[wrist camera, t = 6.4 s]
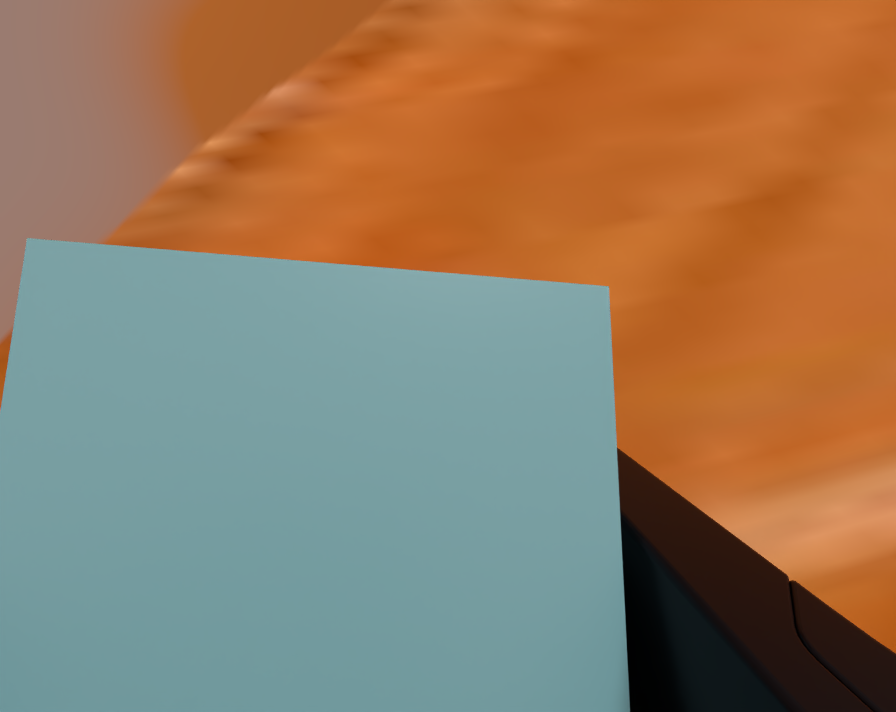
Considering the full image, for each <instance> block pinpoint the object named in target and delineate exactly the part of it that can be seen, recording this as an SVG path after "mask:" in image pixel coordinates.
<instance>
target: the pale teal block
mask: <svg viewBox="0 0 896 712" xmlns="http://www.w3.org/2000/svg"><path fill="white" fill-rule="evenodd" d="M0 712H630V701H629V681H628V661H627V641H626V621H625V601H624V581H623V561H622V541H621V521H620V501H619V481H618V461H617V441H616V421H615V401H614V381H613V361H612V341H611V321H610V301H609V286H597V285H585V284H573V283H561V282H549V281H537V280H525V279H513V278H501V277H489V276H477V275H465V274H453V273H441V272H429V271H417V270H405V269H393V268H381V267H368V266H356V265H344V264H332V263H320V262H308V261H296V260H284V259H272V258H260V257H248V256H236V255H224V254H212V253H200V252H188V251H176V250H164V249H152V248H140V247H128V246H116V245H103V244H90V243H78V242H67V241H55V240H43V239H30V238H27V242H26V249H25V255H24V262H23V269H22V275H21V281H20V288H19V295H18V301H17V307H16V314H15V320H14V327H13V333H12V340H11V346H10V353H9V359H8V366H7V372H6V379H5V385H4V392H3V398H2V405H1V411H0Z"/></svg>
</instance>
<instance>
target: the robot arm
mask: <svg viewBox="0 0 896 712" xmlns="http://www.w3.org/2000/svg"><path fill="white" fill-rule="evenodd" d="M617 461H618V481H619V501H620V521H621V541H622V561H623V581H624V601H625V621H626V641H627V661H628V681H629V701H630V712H896V654H895V653H894V652H893V651H891V650H890V649H888V648H887V647H885V646H884V645H882V644H881V643H879V642H878V641H876V640H875V639H873V638H872V637H871V636H869V635H868V634H867V633H865V632H864V631H862V630H861V629H860V628H858V627H857V626H856V625H854V624H853V623H851V622H850V621H849V620H847V619H846V618H845V617H843V616H842V615H840V614H839V613H838V612H836V611H835V610H833V609H832V608H831V607H829V606H828V605H827V604H825V603H824V602H823V601H821V600H820V599H819V598H817V597H816V596H815V595H813V594H812V593H811V592H809V591H808V590H807V589H805V588H804V587H803V586H801V585H800V584H799V583H797V582H796V581H794V580H792V581H789V578H788V576H787V575H786V574H785V573H784V572H782V571H781V570H780V569H778V568H777V567H776V566H774V565H773V564H772V563H770V562H769V561H768V560H766V559H765V558H764V557H762V556H761V555H760V554H758V553H757V552H756V551H754V550H753V549H752V548H750V547H749V546H748V545H746V544H745V543H744V542H742V541H741V540H740V539H738V538H737V537H736V536H734V535H733V534H732V533H730V532H729V531H728V530H726V529H725V528H724V527H722V526H721V525H720V524H718V523H717V522H716V521H714V520H713V519H712V518H710V517H709V516H708V515H706V514H705V513H704V512H702V511H701V510H700V509H698V508H697V507H696V506H694V505H693V504H692V503H690V502H689V501H688V500H686V499H685V498H684V497H682V496H681V495H680V494H678V493H677V492H676V491H674V490H673V489H672V488H670V487H669V486H668V485H666V484H665V483H664V482H662V481H661V480H660V479H658V478H657V477H656V476H654V475H653V474H652V473H650V472H649V471H648V470H646V469H645V468H644V467H642V466H641V465H640V464H638V463H637V462H636V461H634V460H633V459H632V458H630V457H629V456H628V455H626V454H625V453H624V452H622V451H621V450H620V449H618V448H617Z"/></svg>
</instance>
